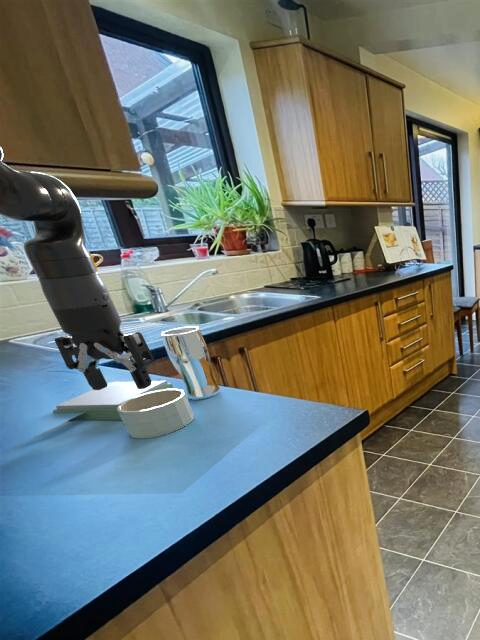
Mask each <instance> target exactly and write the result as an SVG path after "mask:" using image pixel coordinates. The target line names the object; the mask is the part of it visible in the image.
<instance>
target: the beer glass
mask: <svg viewBox="0 0 480 640" xmlns="http://www.w3.org/2000/svg"><path fill="white" fill-rule="evenodd" d="M160 335H161V338H162V342H163V345H164V348H165V351H166V354H167V356H168V359H169V360H170V362H171V363H172V365H173V367H174V369H175V370H176V372H177V373H178V374H179V376H180V378H181V380H182V381H183V383H184V384H185V389H186V396H187V398H188V400H190V399H192V400H191V401H199V399H200V400H205V399H209V398H212V397H214V396H216V395H218V394H219V393H220V392H221V389H220V386H219V385H218V384H217V382H216V380H215V378H214V375H213V370H212V361H211V356H210V352H209V349H208V345H207V342H206V340H205V338H204V336H203V334H202V331H201V329H200V327H199V326H183V327H177V328H172V329H168V330H165V331H162V332H161V333H160Z"/></svg>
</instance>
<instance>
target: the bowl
mask: <svg viewBox="0 0 480 640" xmlns="http://www.w3.org/2000/svg"><path fill="white" fill-rule="evenodd" d="M117 411H118V413H119V415H120V417H121V419H122V420H121V421H122V423H123V425H124V427H125V429H126V431H127V434H128V435H129V436H130V437H131V438H134V439H150V438H151V439H152V438H156V437H160V436H164V435H168V434H171V433H174V432H176V431H178V429H179V430H181V429H183V428H185V427H186V426H188V425H189V423H190V422H191V421H192V420H193V419H194V420H195V413H194V411H193V409H192V406H191V403H190V401H189V398H188V396H187V393H186V392H185V390H184V389H180V388H174V389H165V390H159V391H154V392H150V393H145V394H142V395H139V396H136V397H133V398H131V399H129V400H127V401H125V402H123V403H121V404H120V405H119V406H118V407H117ZM194 420H193V421H194ZM193 421H192V422H193ZM192 422H191V423H192ZM191 423H190V424H191ZM187 424H188V425H187ZM184 426H185V427H184ZM182 427H183V428H182ZM180 428H181V429H180ZM175 430H176V431H175ZM173 431H174V432H173Z"/></svg>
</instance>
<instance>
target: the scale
mask: <svg viewBox="0 0 480 640" xmlns="http://www.w3.org/2000/svg"><path fill="white" fill-rule="evenodd" d="M165 389H175V388H174V385H173V383H172V382H168V381H167V380H151V385H150V386H149V387H147V388H145V389H138V388H137V386H136V384H135V382H134V380H132V381H131V380H130V381H110V382H107V387H105V388H103V389H101V390H93V389H91V390H89V391H87V392H85V393H82V394H79V395H77V396H75V397H73V398H70V399H68V400H66V401H63V402H61V403H59V404H57V405H55V409H53V410H52V412H53V413H56V414H59V413H81V414H79V415H76V416H74V417H72V418H70V419H68V420H67V421H68V422H70V421H72V422H73V421H112V420H113V421H115V420H116V421H122V419H121V417H120V415H119V413H118V411H117V407H118V406H119V405H120V404H121V403H123V402H125V401H127V400H129V399H131V398H133V397H136V396H139V395H142V394H145V393H150V392H154V391H159V390H165Z"/></svg>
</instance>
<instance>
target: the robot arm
mask: <svg viewBox="0 0 480 640" xmlns="http://www.w3.org/2000/svg"><path fill="white" fill-rule="evenodd" d="M3 158H4V153H3V149H2V147H1V146H0V216H2V217H5V218H7V219H10V220H13V221H17V222H18V221H19V222H33V227H34V231H35V236H34V237H33V238H31V239H28V240H27V241H25V242H24V244H23V250H24V253H25V256H26V258H27V260H28V261H29V263H30V266H31V267H32V270H33V271H34V273H35V275H36V277H37V279H38V281H39V284H40V287H41V290H42V293H43V296H44V297H45V299H46V301H47V303H48V305H49V307H50V309H51V311H52V313H53V314H54V317H55V318H56V320H57V322H58V324H59V327H60V329H61V330H62V332H63V333H65V334H66V335H62V336H59V337H55V338H54V342H55V345H56V347H57V349H58V351H59V353H60V355H61V357H62V359H63V362H64V364H65V366H66V368H67V369H69V370H77V371H78V372H80V373H82V374H83V376H84V377H85V379H86V381H87V383H88V385H89V387H91V390H101V389H103V388H105V387H107V383H108V382H107V380H106V379H105V376H104V374H103V373H102V371H101V370H102V369H101V368H100V367H99V362H100V360H102V359H105V360H113V361H114V362H116V363H117V364H122V365H123V366H124V367H125V368H127V369H129V370H130V371H129V374H130V375H131V378H132V381H134V382H135V384H136V386H137V388H138V389H145V388H147V387H149V386H150V385H151V381H152V379H151V377H150V374H149V372H148V370H147V366H149V365H151V364H153V363H155V357H154V355H153V353H152V351H151V350H150V348H149V346H148V344H147V342H146V339H145V338H144V335H143V334H142V333H141V332H140V331H136V332H131V333H127V334H125V333H124V332H123V331H122V330H121V325H122V323H123V322H122V319H121V317H120V315H119V313H118V309H117V308H116V306H115V303H114V301H113V299H112V297H111V294H110V293H109V290H108V288H107V286H106V285H105V283H104V280H102V278H101V276H100V275H99V273H98V271H97V268H96V266H95V264H94V262H93V260H92V257H91V255H90V253H89V251H88V249H87V246H86V234H85V229H84V221H83V216H82V210H81V207H80V204H79V202H78V200H77V198H76V196H75V195H74V193H73V192H72V190H71V189H70V188H69V187H68V186H67V185H66V184H65V183H64V182H62V181H61V180H60V179H58V178H57V177H55V176H53V175H50V174H47V173H43V172H37V171H36V172H35V171H25V170H15V169H13V168H12V167H10V166H8V165H7V164H6V163H4V162H3V161H2V160H3ZM73 356H74V357H73ZM143 357H144V358H143ZM74 358H75V360H74Z"/></svg>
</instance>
